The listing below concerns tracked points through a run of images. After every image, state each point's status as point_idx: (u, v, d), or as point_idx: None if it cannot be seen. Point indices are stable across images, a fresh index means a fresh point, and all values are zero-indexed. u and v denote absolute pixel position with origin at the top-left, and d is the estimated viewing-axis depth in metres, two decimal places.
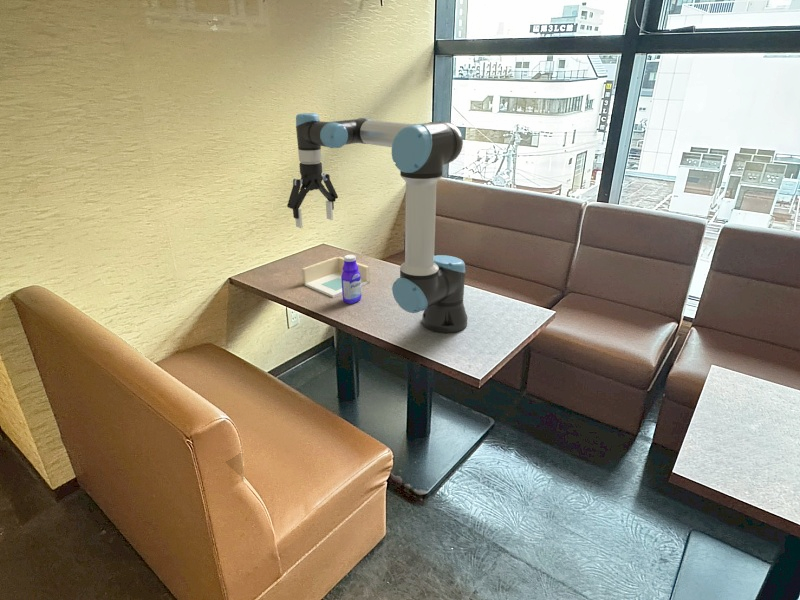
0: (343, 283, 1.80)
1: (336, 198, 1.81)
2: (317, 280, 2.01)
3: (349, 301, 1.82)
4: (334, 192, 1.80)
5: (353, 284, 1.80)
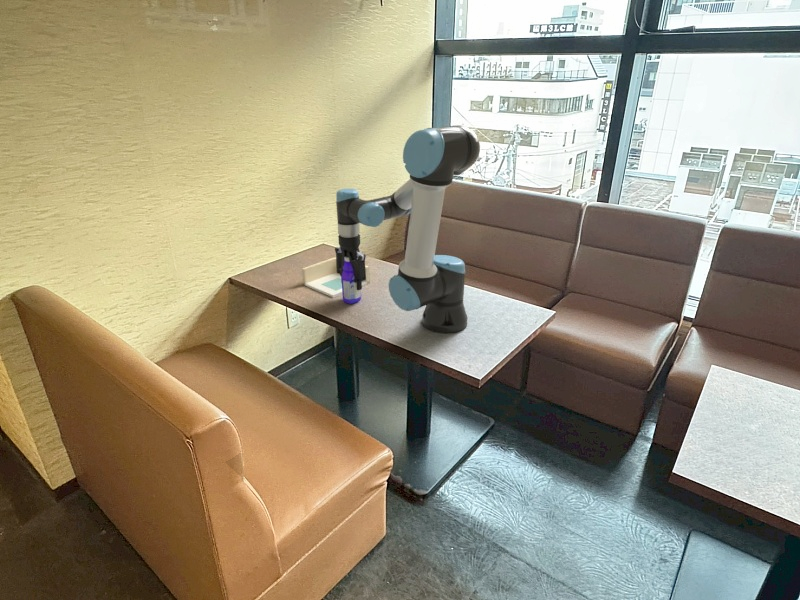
0: (343, 283, 1.80)
1: (359, 281, 1.78)
2: (317, 280, 2.01)
3: (349, 301, 1.82)
4: (359, 275, 1.76)
5: (353, 284, 1.80)
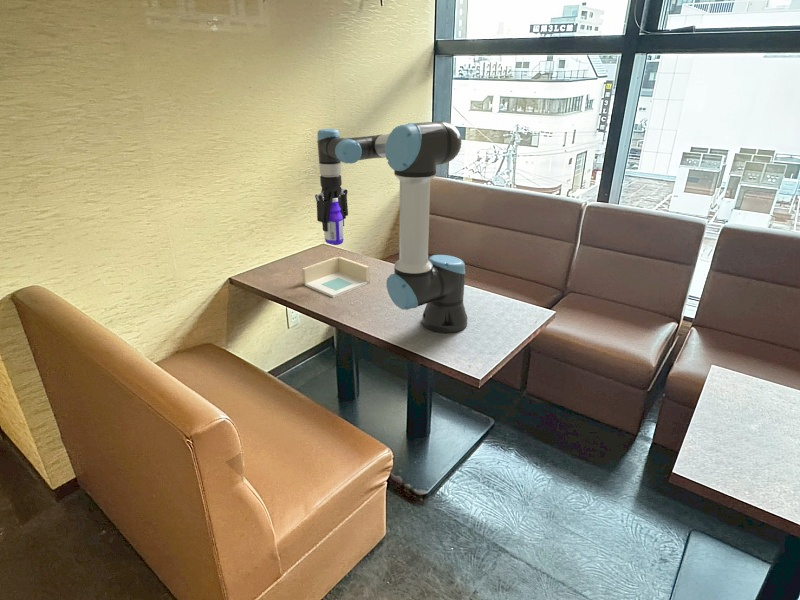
0: (339, 224, 1.84)
1: (346, 215, 1.89)
2: (317, 280, 2.01)
3: None
4: (346, 209, 1.88)
5: None
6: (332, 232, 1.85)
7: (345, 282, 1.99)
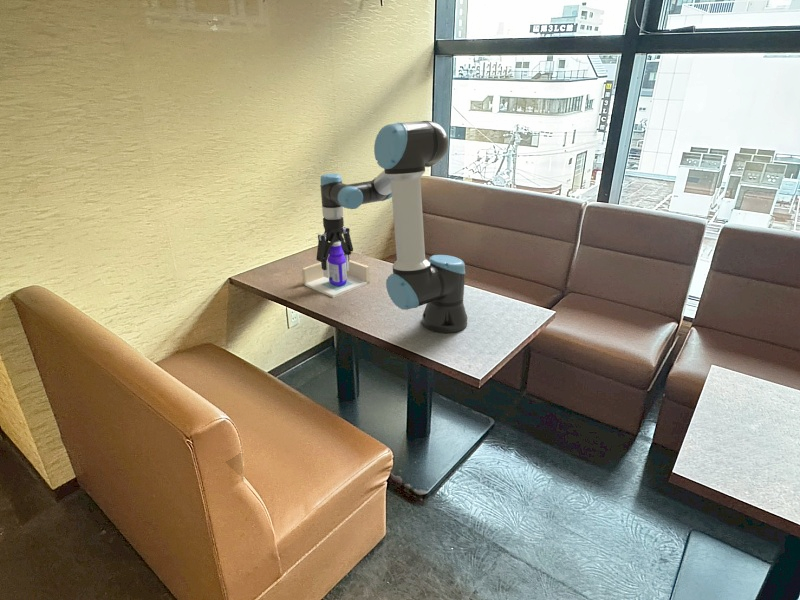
0: (342, 267, 1.92)
1: None
2: (317, 280, 2.01)
3: (346, 281, 1.96)
4: (351, 245, 1.95)
5: None
6: (335, 274, 1.93)
7: None
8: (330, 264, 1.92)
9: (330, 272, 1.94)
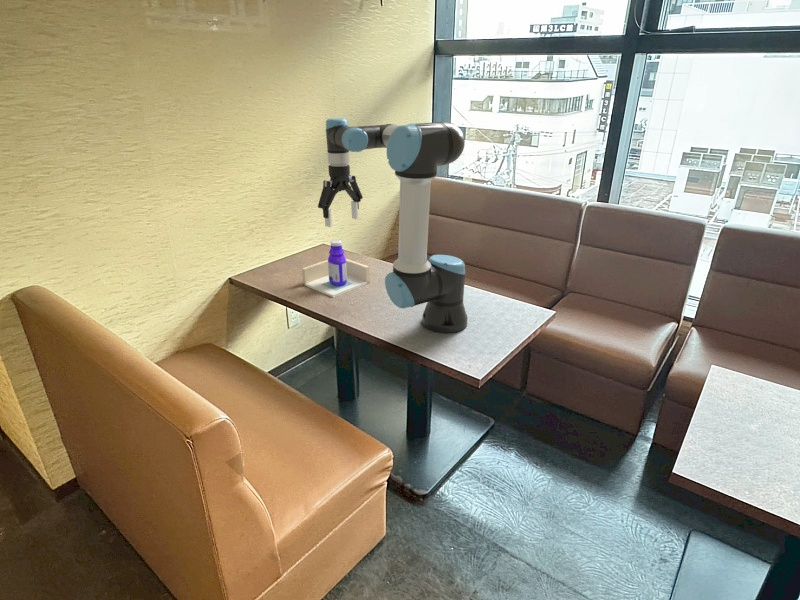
0: (342, 267, 1.92)
1: (361, 198, 1.91)
2: (317, 280, 2.01)
3: (346, 281, 1.96)
4: (359, 193, 1.89)
5: None
6: (336, 274, 1.93)
7: None
8: (330, 264, 1.92)
9: (330, 272, 1.94)
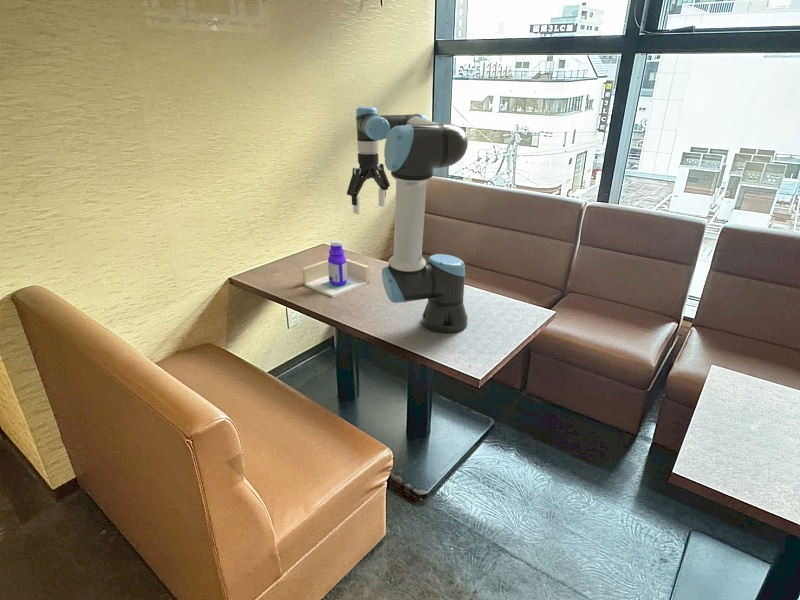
0: (342, 267, 1.92)
1: (388, 186, 1.94)
2: (317, 280, 2.01)
3: (346, 281, 1.96)
4: (387, 181, 1.93)
5: None
6: (336, 274, 1.93)
7: None
8: (330, 264, 1.92)
9: (330, 272, 1.94)
